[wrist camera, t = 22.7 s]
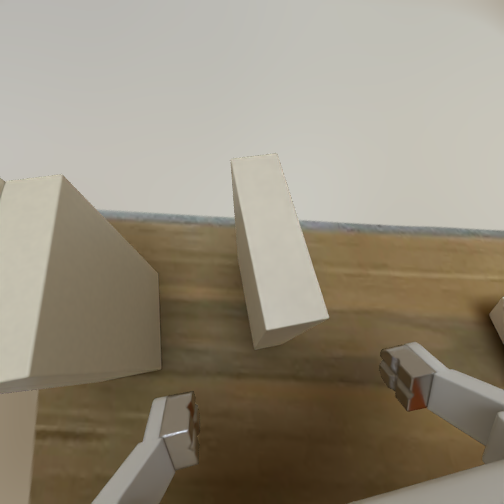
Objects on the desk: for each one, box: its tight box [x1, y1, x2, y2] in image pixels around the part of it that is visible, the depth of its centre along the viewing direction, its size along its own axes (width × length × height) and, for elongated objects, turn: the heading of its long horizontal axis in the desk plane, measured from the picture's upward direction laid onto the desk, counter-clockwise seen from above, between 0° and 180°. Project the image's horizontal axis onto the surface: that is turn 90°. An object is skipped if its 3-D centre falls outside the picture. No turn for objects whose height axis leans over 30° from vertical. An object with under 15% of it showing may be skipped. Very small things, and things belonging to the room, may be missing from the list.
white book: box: [231, 153, 329, 350], centre depth 18 cm, size 3×9×14 cm, turn 11°
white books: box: [0, 174, 162, 394], centre depth 16 cm, size 5×9×15 cm, turn 11°
